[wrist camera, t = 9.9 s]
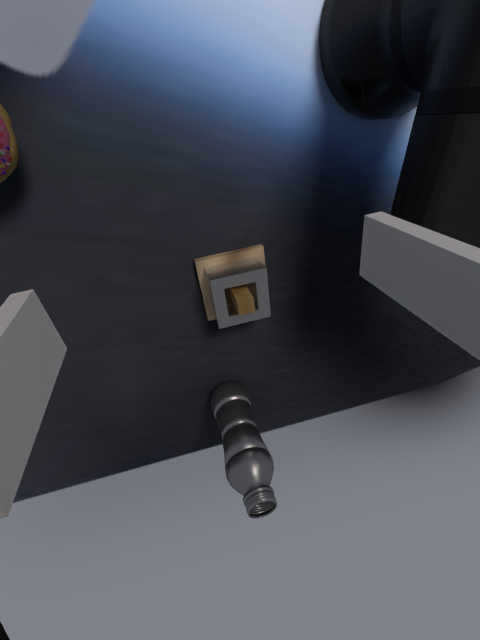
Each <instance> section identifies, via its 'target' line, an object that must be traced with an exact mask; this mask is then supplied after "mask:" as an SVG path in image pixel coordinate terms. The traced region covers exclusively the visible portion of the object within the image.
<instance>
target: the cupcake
mask: <svg viewBox="0 0 480 640" xmlns="http://www.w3.org/2000/svg"><path fill="white" fill-rule="evenodd" d="M18 156H19V155H18V147H17V141H16V138H15V135H14V132H13V129H12V125H11V119H10V117H9V115H8V114H7V112H6V111H5V109H4V108H3V106H2V105H1V104H0V183H2V182H3V181H4V180H6V179H7V177H8V176H9V175H10V174H11V173H12V172H13V171H14V170H15V168H16V167H17V163H18Z"/></svg>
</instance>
